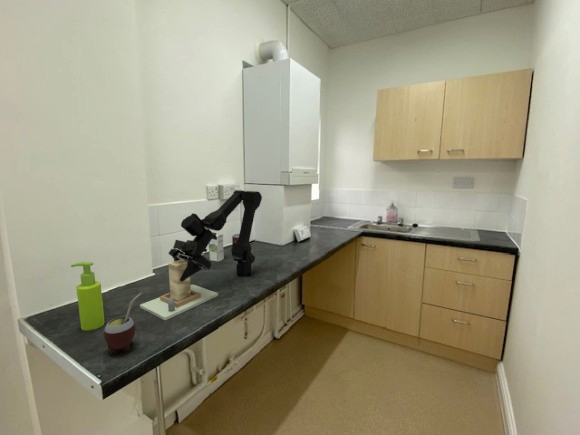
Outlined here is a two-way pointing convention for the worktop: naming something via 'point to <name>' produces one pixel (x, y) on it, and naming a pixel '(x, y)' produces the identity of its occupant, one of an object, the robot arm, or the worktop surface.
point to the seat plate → (177, 303)
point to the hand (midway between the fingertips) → (176, 279)
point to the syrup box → (216, 248)
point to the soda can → (235, 238)
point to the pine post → (178, 280)
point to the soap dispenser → (89, 299)
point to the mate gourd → (120, 332)
